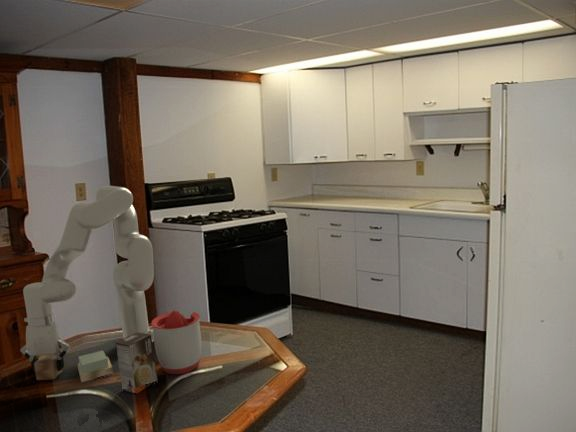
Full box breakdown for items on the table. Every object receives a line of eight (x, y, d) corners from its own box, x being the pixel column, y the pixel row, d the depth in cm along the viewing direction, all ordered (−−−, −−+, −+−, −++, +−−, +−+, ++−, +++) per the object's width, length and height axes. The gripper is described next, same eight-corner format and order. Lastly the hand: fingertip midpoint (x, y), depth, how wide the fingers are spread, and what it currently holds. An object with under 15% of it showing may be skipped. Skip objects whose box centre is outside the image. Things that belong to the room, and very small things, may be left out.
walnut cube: (36, 380, 180) (33, 363, 179) (45, 371, 186) (42, 355, 185) (54, 379, 180) (51, 362, 179) (62, 370, 186) (59, 354, 185)
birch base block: (109, 364, 189) (108, 356, 189) (113, 375, 180) (112, 367, 180) (78, 371, 185) (77, 363, 184) (81, 383, 176) (80, 375, 175)
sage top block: (104, 358, 187) (102, 350, 186) (108, 366, 180) (107, 358, 179) (79, 364, 183) (78, 356, 183) (83, 373, 176) (81, 365, 176)
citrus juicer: (214, 356, 188) (209, 301, 184) (190, 380, 172) (183, 320, 168) (175, 353, 193) (169, 299, 189) (147, 376, 177) (140, 317, 173)
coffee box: (143, 378, 176) (137, 331, 173) (158, 382, 172) (152, 334, 169) (121, 391, 168) (115, 342, 165) (136, 395, 165) (129, 345, 162)
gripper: (8, 326, 176) (17, 376, 179) (62, 322, 175) (69, 373, 178) (20, 317, 183) (28, 366, 186) (71, 314, 183) (78, 363, 186)
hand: (48, 369), depth 182 cm, fingers open, 7 cm apart
